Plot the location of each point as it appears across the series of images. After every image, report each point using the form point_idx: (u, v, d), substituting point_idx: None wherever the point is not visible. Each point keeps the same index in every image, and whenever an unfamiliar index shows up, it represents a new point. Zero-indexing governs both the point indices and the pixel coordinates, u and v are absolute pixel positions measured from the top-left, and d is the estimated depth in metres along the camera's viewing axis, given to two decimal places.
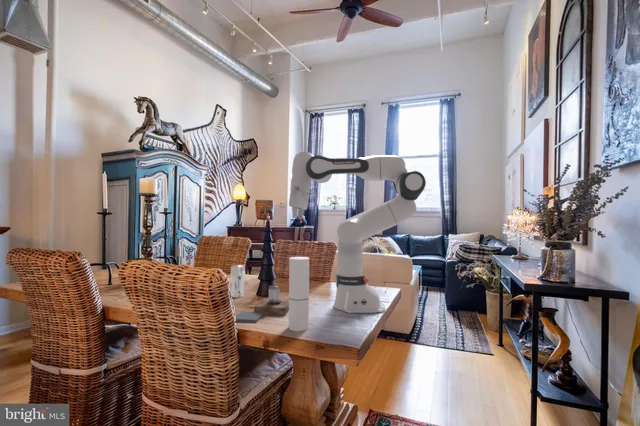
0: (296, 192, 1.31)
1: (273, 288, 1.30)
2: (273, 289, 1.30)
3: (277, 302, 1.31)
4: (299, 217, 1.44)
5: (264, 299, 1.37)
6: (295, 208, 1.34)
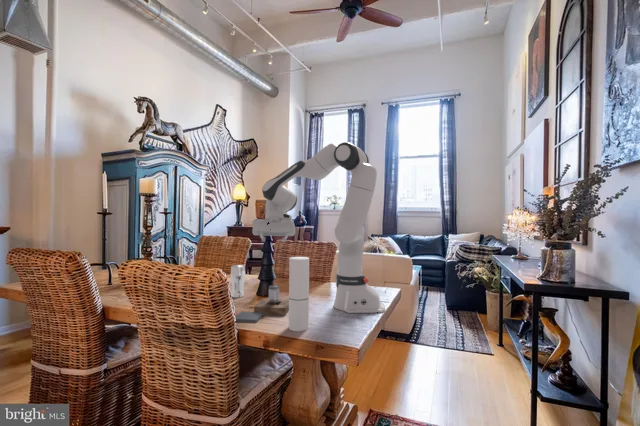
0: None
1: (273, 288, 1.30)
2: (273, 289, 1.30)
3: (277, 302, 1.31)
4: (282, 240, 1.46)
5: (264, 299, 1.37)
6: (260, 233, 1.46)
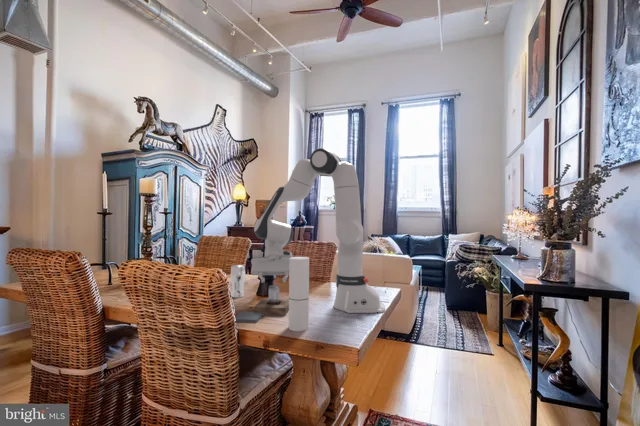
0: None
1: (273, 288, 1.30)
2: (273, 289, 1.30)
3: (277, 302, 1.31)
4: None
5: (264, 299, 1.37)
6: (259, 273, 1.40)
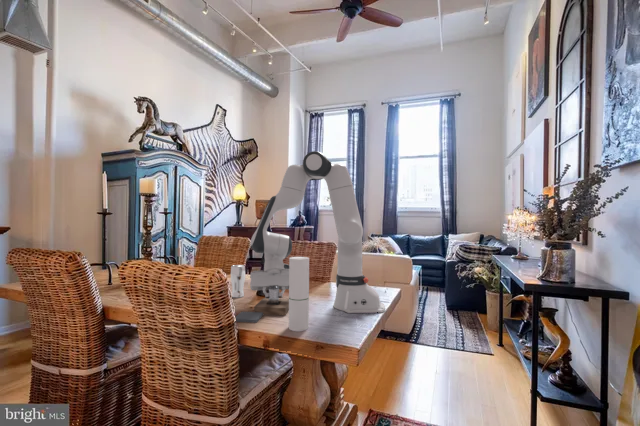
0: None
1: (273, 288, 1.30)
2: (273, 289, 1.30)
3: (277, 302, 1.31)
4: (279, 296, 1.32)
5: (264, 299, 1.37)
6: (262, 288, 1.33)
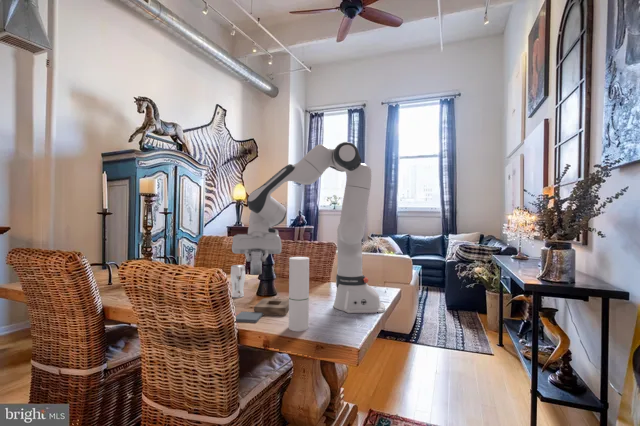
0: None
1: (255, 250, 1.23)
2: (255, 251, 1.23)
3: (259, 265, 1.24)
4: None
5: (264, 299, 1.37)
6: (244, 251, 1.26)
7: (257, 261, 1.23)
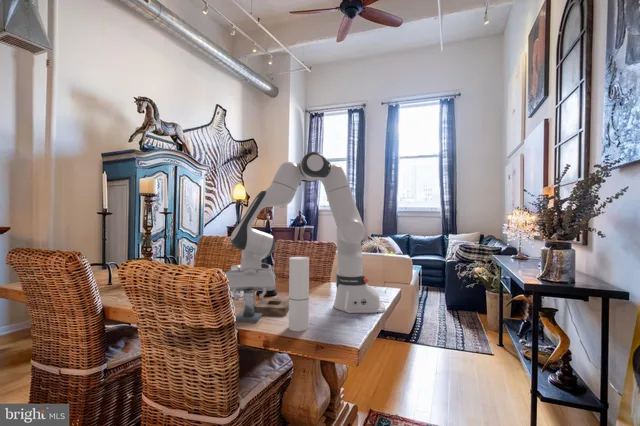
0: None
1: (248, 292, 1.19)
2: (248, 293, 1.19)
3: (252, 307, 1.20)
4: None
5: (264, 299, 1.37)
6: None
7: (250, 303, 1.19)
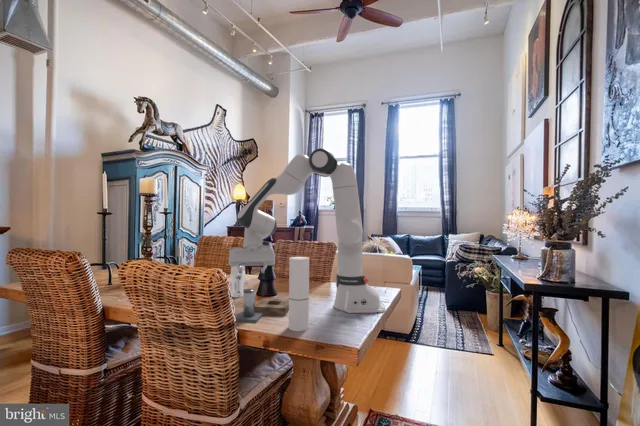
0: None
1: (248, 292, 1.19)
2: (248, 293, 1.19)
3: (252, 307, 1.20)
4: (261, 271, 1.35)
5: (264, 299, 1.37)
6: (236, 264, 1.35)
7: (250, 303, 1.19)
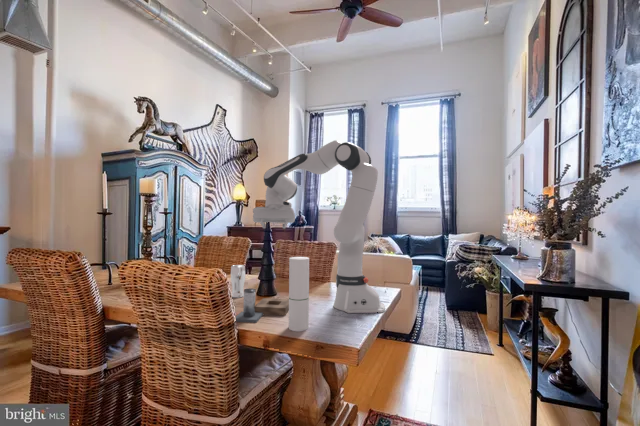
0: None
1: (248, 292, 1.19)
2: (248, 293, 1.19)
3: (253, 307, 1.20)
4: None
5: (264, 299, 1.37)
6: (260, 220, 1.48)
7: (250, 303, 1.20)
